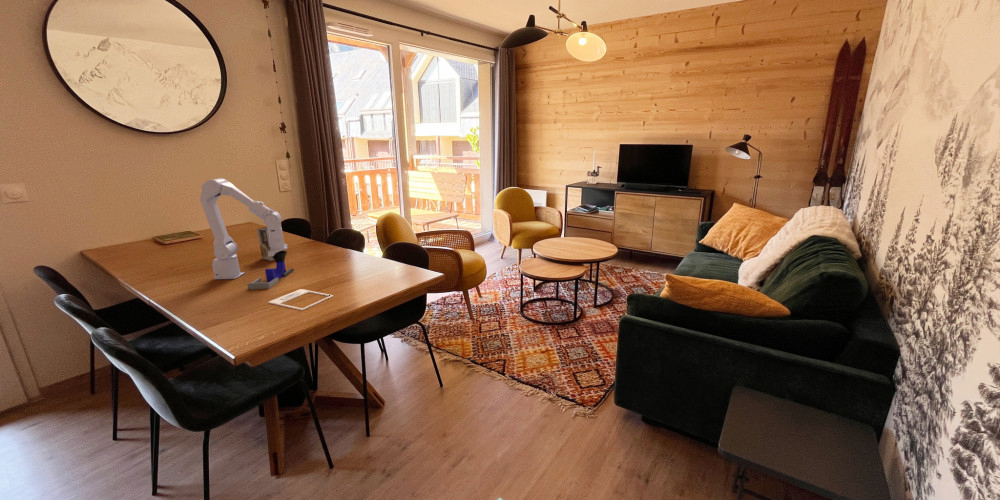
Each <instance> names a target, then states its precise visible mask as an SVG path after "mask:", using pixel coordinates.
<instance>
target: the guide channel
mask: <svg viewBox="0 0 1000 500" xmlns="http://www.w3.org/2000/svg"><path fill="white" fill-rule="evenodd" d="M293 272H294V268H290V269H287V270H286V272H285V273H284V274H283V277H288V276H289V275H290V274H291V273H293Z"/></svg>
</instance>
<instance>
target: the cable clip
mask: <svg viewBox="0 0 1000 500" xmlns="http://www.w3.org/2000/svg"><path fill="white" fill-rule="evenodd" d="M275 265H276V267H275V268H265V270H264V271H265V278H266V282H270V281H272V280H273V279H275V278H279V280H280V279H281V278H282V277H283V274H284V273H285V272H286V271H287V270H286V264H285V261H281V262H275Z"/></svg>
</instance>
